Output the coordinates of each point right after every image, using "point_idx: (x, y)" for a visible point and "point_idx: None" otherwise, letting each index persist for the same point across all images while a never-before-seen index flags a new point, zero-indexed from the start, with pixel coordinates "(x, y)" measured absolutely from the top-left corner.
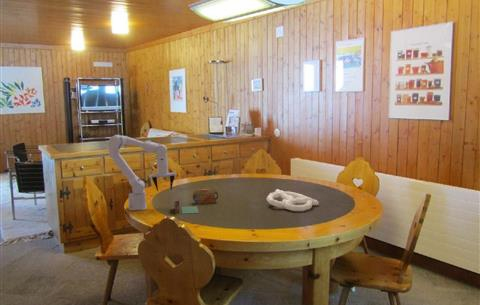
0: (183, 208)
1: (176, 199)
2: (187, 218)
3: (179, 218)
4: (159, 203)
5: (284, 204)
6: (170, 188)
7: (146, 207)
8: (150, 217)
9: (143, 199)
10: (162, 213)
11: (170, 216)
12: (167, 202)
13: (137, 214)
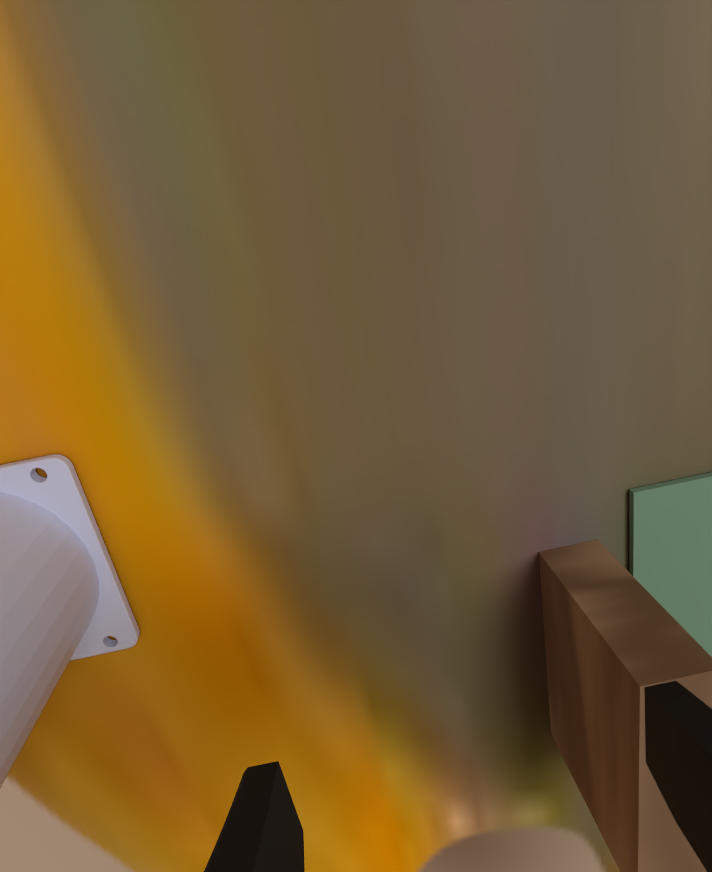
0: (659, 568)
1: (668, 835)
2: None
3: (600, 860)
4: (234, 247)
5: None
6: (666, 803)
7: (113, 580)
8: None
9: (24, 742)
10: (405, 746)
11: (508, 822)
12: (374, 163)
13: (110, 803)
